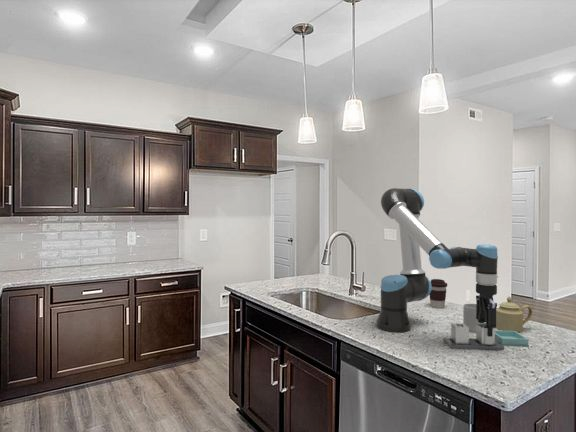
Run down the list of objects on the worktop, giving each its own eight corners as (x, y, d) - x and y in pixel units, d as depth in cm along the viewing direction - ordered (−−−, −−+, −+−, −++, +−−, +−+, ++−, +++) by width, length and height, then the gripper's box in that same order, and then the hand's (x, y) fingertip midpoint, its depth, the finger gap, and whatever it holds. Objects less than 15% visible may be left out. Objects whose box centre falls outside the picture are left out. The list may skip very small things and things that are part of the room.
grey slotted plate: (450, 348, 150) (450, 345, 150) (443, 340, 159) (443, 337, 159) (503, 350, 149) (503, 347, 149) (492, 342, 158) (493, 339, 158)
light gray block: (455, 347, 152) (455, 326, 152) (451, 342, 157) (451, 322, 157) (468, 347, 151) (468, 326, 151) (463, 343, 156) (463, 322, 156)
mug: (474, 334, 168) (475, 309, 167) (458, 328, 175) (459, 304, 175) (493, 330, 173) (494, 306, 172) (477, 325, 180) (477, 301, 180)
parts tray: (501, 345, 154) (502, 338, 154) (490, 336, 164) (490, 330, 164) (528, 346, 153) (528, 339, 153) (515, 337, 163) (515, 331, 163)
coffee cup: (441, 310, 206) (442, 282, 206) (424, 306, 214) (424, 279, 213) (450, 307, 213) (450, 280, 212) (433, 303, 220) (433, 277, 220)
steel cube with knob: (481, 347, 151) (481, 327, 151) (476, 343, 156) (476, 323, 156) (494, 348, 151) (495, 327, 151) (488, 343, 156) (489, 323, 156)
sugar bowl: (509, 322, 184) (510, 291, 184) (533, 329, 174) (534, 296, 174) (489, 327, 177) (490, 295, 177) (513, 334, 167) (513, 300, 167)
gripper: (507, 288, 144) (506, 350, 144) (485, 279, 162) (485, 334, 162) (486, 288, 144) (485, 349, 145) (467, 279, 162) (466, 333, 163)
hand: (485, 341), depth 153 cm, fingers closed on steel cube with knob, 5 cm apart
